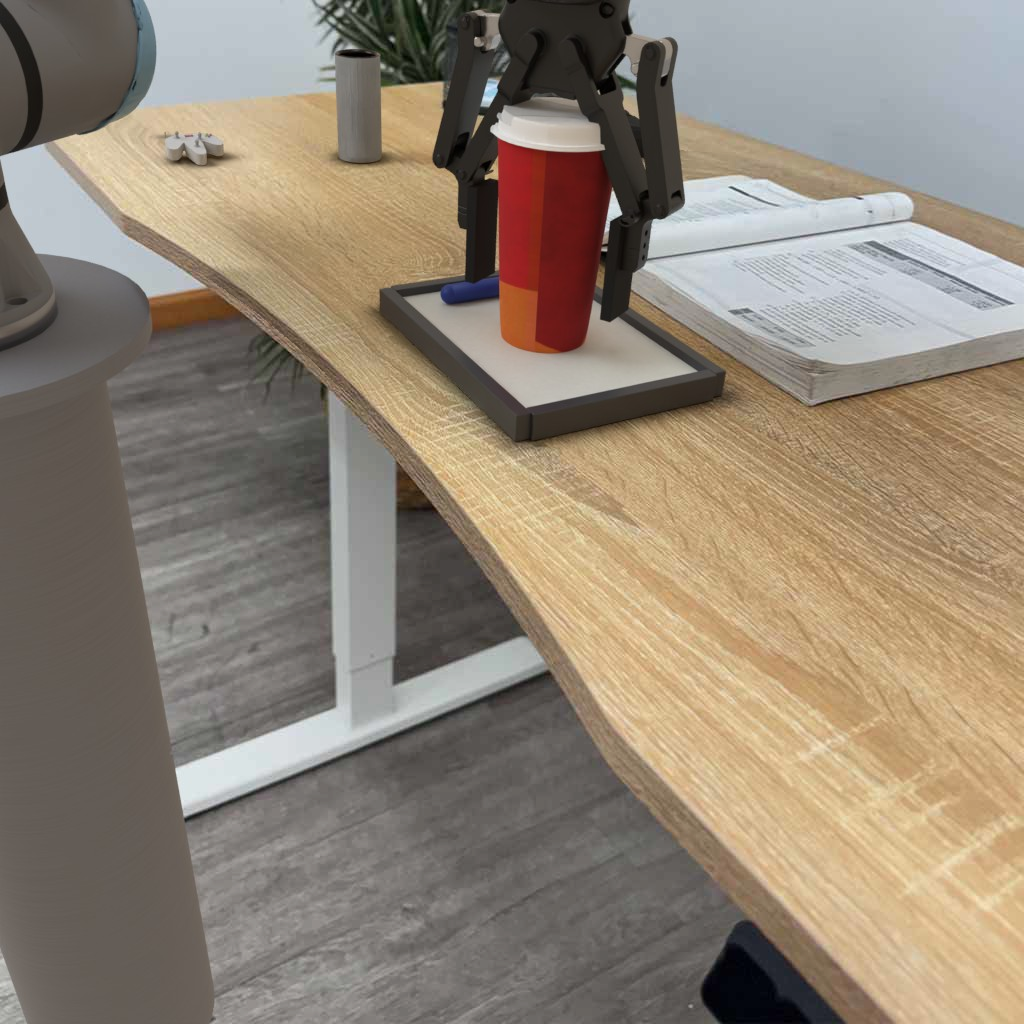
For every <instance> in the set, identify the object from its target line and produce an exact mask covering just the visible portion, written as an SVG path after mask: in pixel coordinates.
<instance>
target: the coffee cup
mask: <svg viewBox="0 0 1024 1024" xmlns="http://www.w3.org/2000/svg"><path fill="white" fill-rule="evenodd" d="M497 118H498V119H499V122H498V123H496V124H495V125H492V126H491V128H490V132H492V133H493V134H494V135H495V136H497V137H498V157H497V180H498V270H499V296H500V327H501V335H502V338H503V339H504V340H505V341H506V342H507V343H508V344H510V345H512V346H514V347H516V348H519V349H522V350H525V351H530V352H536V353H562V352H568V351H571V350H574V349H577V348H579V347H580V346H581V345H583V343H584V342H585V339H586V336H587V331H588V326H589V321H590V315H591V310H592V304H593V298H594V292H595V286H596V285H597V280H598V274H599V267H600V262H601V255H602V248H603V243H604V238H605V237H604V236H605V231H606V225H607V222H608V221H607V220H608V215H609V210H610V203H611V198H612V193H613V187H612V184H611V182H610V179H609V176H608V173H607V170H606V168H605V165H604V162H603V159H602V156H601V154H600V150H605V148H604V145H603V144H601V143H600V126H599V124H597V123H592V122H589V120H588V118H587V117H586V116H584V115H583V114H582V112H581V110H580V108H579V105H578V102H577V100H569V99H564V98H562V97H559V96H558V97H556V96H555V97H554V96H535V97H533V96H532V98H531V99H530V100H528V101H525V102H522V103H519V104H515V105H512V106H507V105H505V106H504V109H503V112H502V113H498V114H497Z"/></svg>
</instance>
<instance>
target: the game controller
mask: <svg viewBox="0 0 1024 1024" xmlns="http://www.w3.org/2000/svg"><path fill="white" fill-rule="evenodd" d="M166 133H168V135H169V136H168V137H167V134H166ZM164 137H165V139H164V148H165V149H164V150H165V155H166V157H167V159H169V160H170V161H178V160H180V159H181V158H182V157H183V155H184V154H185V156H186V157H187V158H188V159H189V160H191V161H192V162H193V163H195V164H196V165H197V166H206V165H207V164H208V160H207V154H210V155H213V156H216V157H221V156H224V154H225V151H224V149H225V148H224V146H225V145H224V141H223V140H222V139H221V138H219V137H218V136H216V135H215V134H212V133H209V132H201V131H199V132H193V133H182V134H180V133H179V131H178V130H175V131H174V135H172V134H171V133H170V131H164ZM184 152H185V153H184Z"/></svg>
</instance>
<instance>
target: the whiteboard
mask: <svg viewBox="0 0 1024 1024" xmlns="http://www.w3.org/2000/svg"><path fill="white" fill-rule="evenodd" d="M378 293H379V295H378V296H379V298H378V299H379V313H380V314H381V315H382V316H383V317H384V318H385V319H387V321H389V322H390V323H391V325H392V326H394V327H395V328H396V329H397V330H398V332H400V333H401V334H402V335H403V336H404V337H405V338H406V339H407V340H408V341H409V342H410V343H411V344H412V345H414V346H415V347H416V348H417V349H418V350H419V351H420V352H421V353H422V354H423V355H424V356H425V357H426V358H427V359H428V360H429V361H430V362H431V363H432V364H433V365H434V366H436V367H437V368H438V369H439V371H440V372H442V374H444V375H445V376H446V377H447V378H448V379H449V380H450V381H451V382H452V383H453V384H454V385H455V386H456V387H457V388H459V390H460V391H462V393H464V395H465V396H467V397H468V398H469V399H470V400H471V401H472V402H473V403H474V404H475V405H476V406H477V408H479V409H480V410H481V411H483V413H484V414H485V415H487V416H488V418H490V419H491V420H492V421H493V422H494V423H495V424H496V425H497V426H498V427H499V428H500V429H501V430H502V431H503V432H504V433H506V435H507V436H508V437H509V438H510V439H512V440H513V442H515V443H517V442H522V441H526V440H529V439H530V440H531V441H533V442H534V441H538V440H542V439H546V438H551V437H555V436H561V435H565V434H568V433H573V432H578V431H582V430H587V429H592V428H595V427H600V426H604V425H609V424H612V423H617V422H622V421H627V420H630V419H635V418H639V417H644V416H648V415H653V414H657V413H663V412H665V411H671V410H675V409H680V408H684V407H687V406H692V405H697V404H700V403H705V402H711V401H713V400H714V398H716V397H720V396H722V395H723V391H724V387H725V381H726V376H727V375H726V374H727V371H726V370H725V369H724V368H722V367H721V366H719V364H716V363H715V362H714V361H712V360H711V359H709V358H708V357H706V356H704V355H703V354H701V353H700V352H698V351H696V350H695V349H694V348H692V347H691V346H689V345H688V344H686V343H685V342H683V340H680V339H678V338H677V337H676V336H674V335H672V334H671V333H669V332H668V331H667V330H666V329H664V328H662V327H660V326H658V324H656V323H655V322H653V321H651V320H650V319H649V318H646V317H645V316H644V315H642V314H641V313H639V312H638V311H636V310H635V309H633V308H632V307H630V306H629V310H627V311H626V312H624V313H623V314H621V315H620V316H619V317H617V318H616V319H614V320H613V321H611V322H607V321H603V320H600V313H601V303H602V293H603V288H601V287H600V286H599V285H597V284H596V286H595V292H594V298H593V304H592V310H591V315H590V321H589V326H588V331H587V336H586V339H585V342H584V343H583V345H581V346H580V347H579V348H577V349H574V350H571V351H568V352H562V353H536V352H530V351H525V350H522V349H519V348H516V347H514V346H512V345H510V344H508V343H507V342H506V341H505V340H504V339H503V338H502V335H501V327H500V296H499V269H497V270H496V269H495V273H493V274H492V275H490V276H488V277H486V278H484V279H482V280H480V281H478V282H477V283H475V284H473V283H469V282H466V281H465V274H462V275H455V276H449V277H442V278H436V279H435V278H434V279H428V280H421V281H415V282H408V283H401V284H393V285H390V287H383V288H379V292H378Z"/></svg>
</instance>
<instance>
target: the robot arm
mask: <svg viewBox="0 0 1024 1024" xmlns="http://www.w3.org/2000/svg"><path fill="white" fill-rule="evenodd" d="M630 4H631V0H505V2H504V6H503V8H502V10H501V12H500V13H496V12H495V13H493V11H492V10H491V9H489V8H482V9H477V10H472V11H467V12H462V13H460V14H458V15H459V16H458V18H457V22H456V31H457V56H456V59H455V63H454V68H453V71H452V75H451V79H450V84H449V87H448V92H447V95H446V100H445V104H444V107H443V111H442V116H441V119H440V123H439V126H438V127H439V128H438V132H437V135H436V140H435V143H434V148H433V151H432V156H431V160H432V163H433V165H434V167H436V168H437V169H439V170H441V169H442V170H443V169H445V170H446V171H448V172H449V173H451V174H452V175H453V176H454V178H455V180H456V181H457V216H456V217H457V220H456V221H457V223H458V224H457V225H458V227H459V229H460V230H461V229H462V230H465V261H464V262H465V263H464V266H465V267H464V275H465V281H466V282H469V283H473V284H475V283H477V282H478V281H480V280H482V279H484V278H486V277H488V276H490V275H492V274H493V273H495V271H496V259H497V258H496V257H497V236H498V235H497V234H498V217H499V211H498V179H496V178H491V177H488V178H487V179H486V176H487V175H490V174H492V173H493V172H494V171H495V169H492V167H493V165H494V164H495V163H496V160H497V159H498V137H497V136H495V135H494V134H493V133H492V132H490V128H491V126H492V125H495V124H496V123H498V122H499V119H498V118H497V114H498V113H502V112H503V109H504V106H505V105H507V106H512V105H515V104H519V103H522V102H525V101H528V100H530V99H531V98H532V97H533V96H535V95H536V94H538V95H543V94H551V93H552V94H554V95H556V96H558V97H559V98H564V99H569V100H577V102H578V105H579V108H580V110H581V112H582V114H583V115H584V116H586V117H587V118H588V120H589V122H592V123H597V124H599V126H600V143H601V144H603V145H604V148H605V150H600V154H601V156H602V159H603V162H604V165H605V168H606V170H607V173H608V176H609V179H610V182H611V184H612V191H613V192H614V195H615V199H616V201H617V204H618V206H619V210H620V212H621V214H620V215H618V216H617V217H615V218H614V219H612V220H610V221H609V228H608V236H607V247H606V256H605V265H604V275H603V285H602V289H603V293H602V303H601V313H600V320H603V321H607V322H611V321H613V320H614V319H616V318H617V317H619V316H620V315H621V314H623V313H624V312H626V311H627V310H629V307H630V301H631V292H632V291H631V290H632V283H633V276H634V274H635V273H637V272H638V271H639V270H641V269H643V268H644V267H645V265H646V263H647V262H648V258H649V249H650V242H651V235H652V225H653V222H654V220H659V221H660V220H665V219H667V218H668V217H670V216H671V215H673V214H675V213H677V212H678V211H680V210H682V208H684V205H685V204H686V196H685V186H684V176H683V169H682V158H681V150H680V141H679V133H678V132H679V131H678V123H677V116H676V106H675V97H674V96H675V95H674V88H673V77H674V73H675V67H676V62H677V57H678V53H679V52H678V51H679V44H678V42H677V40H676V39H675V38H674V37H671V36H665V37H662V38H659V39H657V38H652V37H649V36H644V35H640V34H637V33H634V31H633V28H632V27H633V26H632V25H631V21H630V16H629V9H630ZM501 40H502V42H503V45H504V46H505V48H506V50H507V53H508V54H509V56H510V58H511V59H510V61H509V63H508V65H507V67H506V68H505V70H504V72H503V74H502V75H501V77H500V80H499V81H498V83H497V86H496V89H497V92H496V94H495V95H494V97H493V99H492V101H491V103H490V104H489V106H488V108H487V109H486V112H485V114H484V116H483V117H482V119H481V121H480V123H479V125H478V127H477V128H476V126H477V125H476V124H477V120H478V117H479V113H480V109H481V106H482V103H483V99H484V95H485V91H486V88H487V84H488V81H489V76H490V73H491V69H492V66H493V62H494V58H495V51H496V48H498V46H499V44H500V42H501ZM625 57H628V59H629V61H630V68H629V69H630V72H631V74H632V75H633V76H634V77H635V78H636V81H635V94H636V95H635V96H636V105H637V112H638V119H639V121H640V129H641V137H642V145H643V153H644V157H643V158H641V156H640V153H639V150H638V147H637V144H636V141H635V138H634V135H633V133H632V130H631V127H630V124H629V121H628V118H627V115H626V112H625V110H626V109H625V106H624V99H625V97H624V91H623V89H622V87H621V84H620V80H619V77H618V75H617V71H616V69H617V68H618V67H619V65H620V64H621V63H622V61H624V59H625ZM156 66H157V39H156V32H155V27H154V23H153V19H152V16H151V14H150V11H149V8H148V6H147V4H146V2H145V0H0V157H2V156H6V155H9V154H14V153H17V152H20V151H23V150H27V149H30V148H34V147H37V146H41V145H44V144H47V143H51V142H55V141H58V140H61V139H65V138H68V137H71V136H75V135H77V136H83V135H88V134H91V133H94V132H98V131H100V130H101V129H103V128H105V127H106V126H108V125H110V124H111V123H114V122H117V121H119V120H122V119H123V118H124V119H125V118H126V117H127V116H128V115H130V114H131V113H132V112H134V111H135V110H136V109H137V107H138V106H139V105H140V103H141V102H142V101H143V100H144V98H146V96H147V94H148V92H149V90H150V88H151V86H152V82H153V80H154V76H155V72H156ZM475 129H476V130H475ZM643 160H644V161H643ZM8 195H9V194H8V191H7V186H6V181H5V176H4V171H3V166H2V161H1V160H0V351H3V350H6V349H9V348H11V347H14V346H17V345H19V344H22V343H24V342H26V341H28V340H30V339H32V338H34V337H35V336H37V335H39V334H40V333H42V332H43V331H44V330H46V329H47V328H48V327H49V326H50V325H51V324H52V323H53V322H54V320H55V319H56V317H57V314H58V306H57V301H56V296H55V291H54V286H53V284H52V282H51V280H50V278H49V276H48V274H47V272H46V271H45V269H44V267H43V265H42V264H41V262H40V260H39V258H38V257H37V255H36V252H35V250H34V248H33V246H32V244H31V243H30V241H29V240H28V238H27V236H26V234H25V232H24V231H23V229H22V227H21V225H20V224H19V221H18V220H17V219H16V217H15V215H14V213H13V210H12V208H11V204H10V199H9V196H8Z"/></svg>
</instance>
